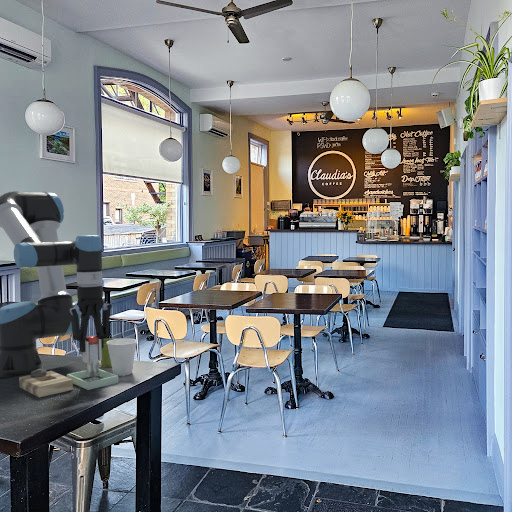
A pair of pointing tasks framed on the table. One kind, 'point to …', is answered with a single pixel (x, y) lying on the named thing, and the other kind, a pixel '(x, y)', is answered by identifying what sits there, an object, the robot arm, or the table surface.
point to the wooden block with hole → (45, 383)
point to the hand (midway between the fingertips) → (92, 360)
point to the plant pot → (106, 354)
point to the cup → (122, 355)
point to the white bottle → (92, 357)
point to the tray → (107, 380)
